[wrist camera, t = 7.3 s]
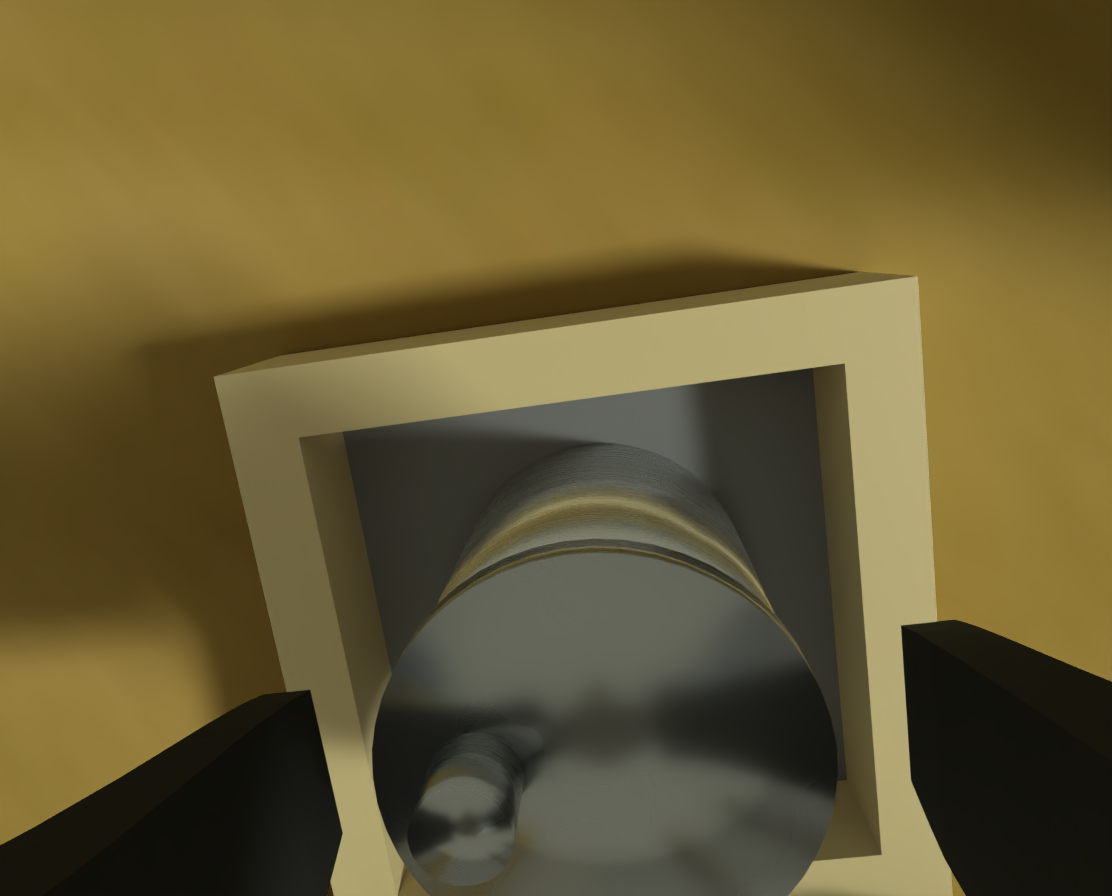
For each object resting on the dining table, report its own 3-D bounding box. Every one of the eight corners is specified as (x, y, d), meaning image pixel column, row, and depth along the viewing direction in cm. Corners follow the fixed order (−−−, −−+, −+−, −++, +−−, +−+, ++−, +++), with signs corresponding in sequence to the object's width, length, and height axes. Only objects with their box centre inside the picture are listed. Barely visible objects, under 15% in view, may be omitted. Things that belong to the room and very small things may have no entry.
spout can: (751, 432, 14) (875, 588, 7) (750, 710, 15) (858, 1057, 8) (449, 442, 14) (317, 600, 8) (469, 713, 15) (367, 1050, 9)
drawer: (860, 271, 14) (996, 282, 9) (915, 1054, 17) (1036, 1363, 12) (108, 380, 15) (-124, 441, 10) (293, 1098, 18) (183, 1400, 13)
